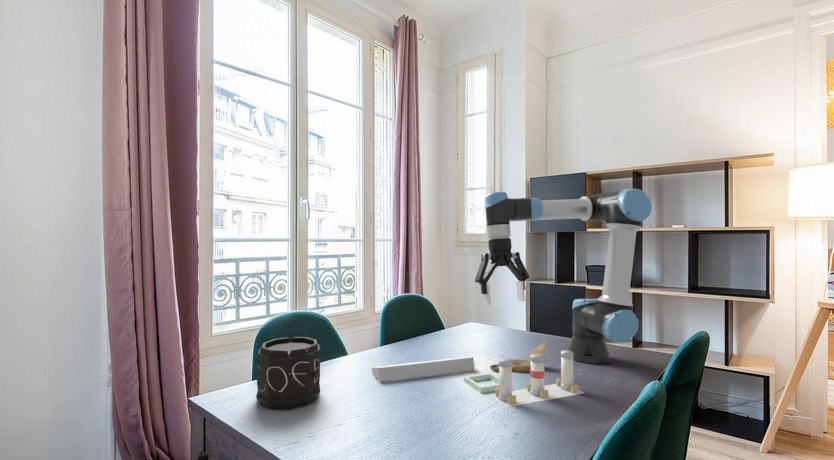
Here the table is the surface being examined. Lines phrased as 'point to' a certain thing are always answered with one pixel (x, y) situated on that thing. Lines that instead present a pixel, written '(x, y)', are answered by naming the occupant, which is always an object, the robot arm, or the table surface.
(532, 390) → the marked fuse
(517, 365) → the oil lamp
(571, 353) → the fuse
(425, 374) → the decorative molding
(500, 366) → the cylinder
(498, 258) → the robot arm
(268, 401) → the coffee canister
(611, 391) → the table surface
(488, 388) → the tray
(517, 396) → the fuse block
